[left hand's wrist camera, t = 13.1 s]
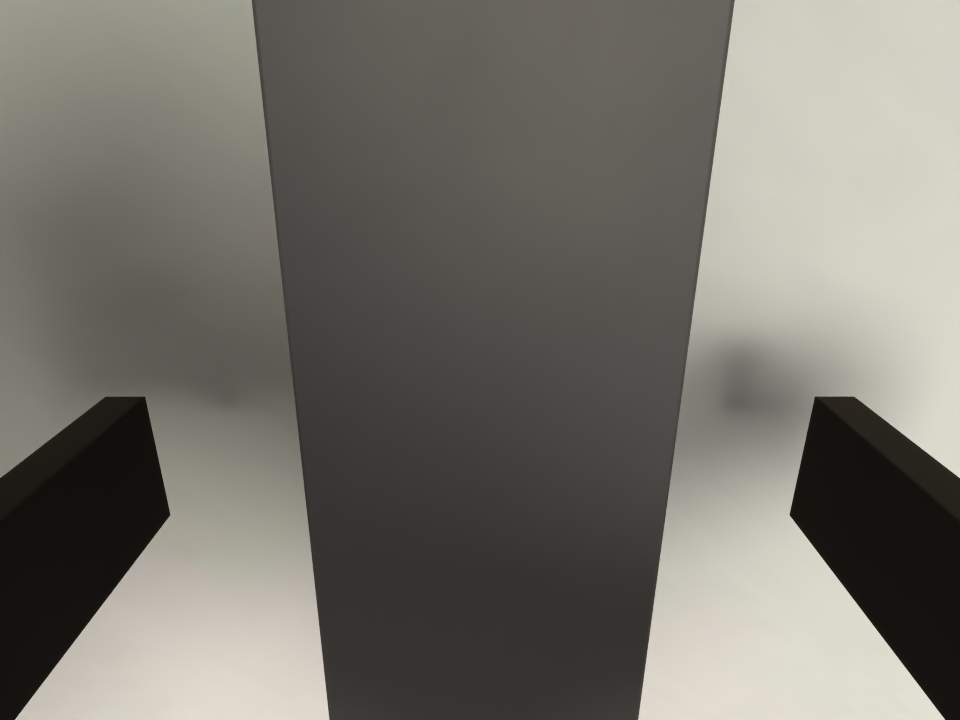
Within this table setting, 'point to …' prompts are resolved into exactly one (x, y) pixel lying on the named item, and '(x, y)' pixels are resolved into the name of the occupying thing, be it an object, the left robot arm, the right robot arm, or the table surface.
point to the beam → (488, 333)
